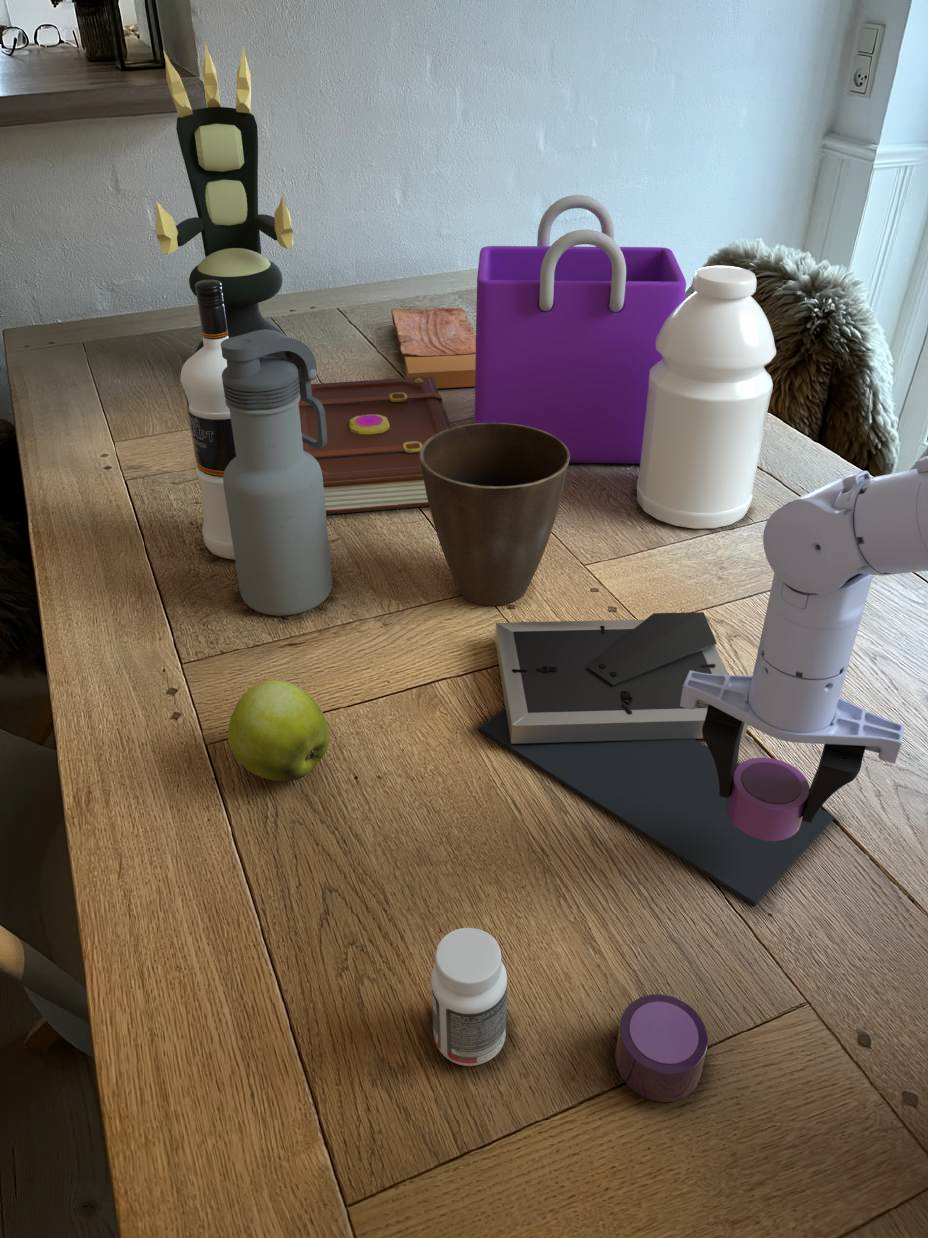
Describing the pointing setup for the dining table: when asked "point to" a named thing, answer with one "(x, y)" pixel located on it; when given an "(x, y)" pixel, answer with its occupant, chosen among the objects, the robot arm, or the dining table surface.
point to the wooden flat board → (437, 345)
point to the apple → (278, 731)
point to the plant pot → (493, 504)
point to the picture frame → (604, 678)
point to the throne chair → (226, 200)
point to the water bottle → (275, 475)
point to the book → (374, 441)
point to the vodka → (210, 417)
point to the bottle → (707, 404)
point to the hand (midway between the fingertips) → (767, 800)
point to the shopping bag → (573, 335)
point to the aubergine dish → (661, 1047)
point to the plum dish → (767, 799)
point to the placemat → (668, 803)
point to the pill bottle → (469, 997)
